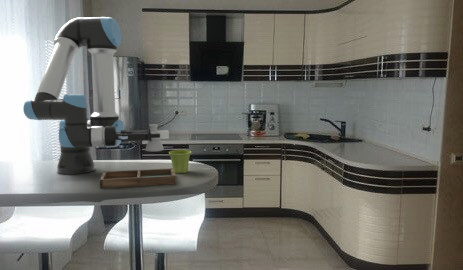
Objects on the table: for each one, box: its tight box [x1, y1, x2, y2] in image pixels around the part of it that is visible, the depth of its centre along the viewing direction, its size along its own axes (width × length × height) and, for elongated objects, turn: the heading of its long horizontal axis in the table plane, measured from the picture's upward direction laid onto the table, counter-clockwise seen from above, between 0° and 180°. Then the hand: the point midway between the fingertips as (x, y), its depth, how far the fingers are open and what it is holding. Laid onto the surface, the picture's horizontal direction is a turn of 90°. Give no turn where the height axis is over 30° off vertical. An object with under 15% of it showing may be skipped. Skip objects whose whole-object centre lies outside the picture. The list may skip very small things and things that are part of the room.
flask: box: [144, 123, 165, 152], centre depth 145 cm, size 7×7×10 cm
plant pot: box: [168, 149, 192, 174], centre depth 162 cm, size 9×9×9 cm
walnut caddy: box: [99, 167, 177, 189], centre depth 146 cm, size 14×27×3 cm, turn 103°
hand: (168, 134), depth 146 cm, fingers closed on flask, 3 cm apart
